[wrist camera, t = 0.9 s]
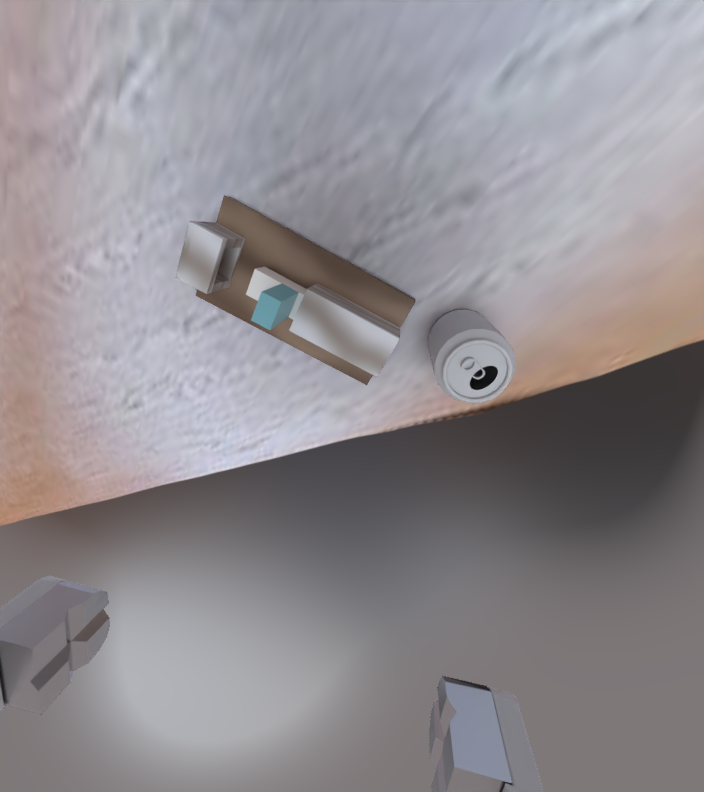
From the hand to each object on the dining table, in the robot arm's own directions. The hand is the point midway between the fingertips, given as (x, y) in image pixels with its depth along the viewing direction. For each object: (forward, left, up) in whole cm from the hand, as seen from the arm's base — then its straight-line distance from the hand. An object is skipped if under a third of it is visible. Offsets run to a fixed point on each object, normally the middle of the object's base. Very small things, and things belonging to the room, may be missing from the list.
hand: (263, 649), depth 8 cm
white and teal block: (+2, -6, -36) cm, 37 cm away
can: (-2, +10, -39) cm, 40 cm away
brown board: (+2, -9, -39) cm, 40 cm away
